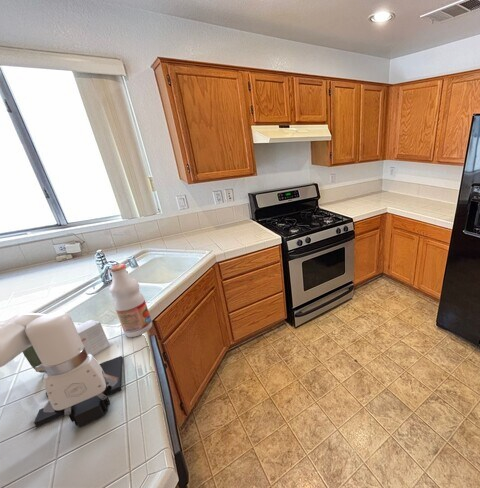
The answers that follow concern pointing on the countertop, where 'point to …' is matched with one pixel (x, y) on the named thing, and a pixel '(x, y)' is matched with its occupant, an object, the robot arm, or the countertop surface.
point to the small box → (92, 336)
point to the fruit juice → (129, 302)
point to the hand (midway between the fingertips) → (92, 413)
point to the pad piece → (88, 411)
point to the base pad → (110, 368)
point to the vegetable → (32, 357)
